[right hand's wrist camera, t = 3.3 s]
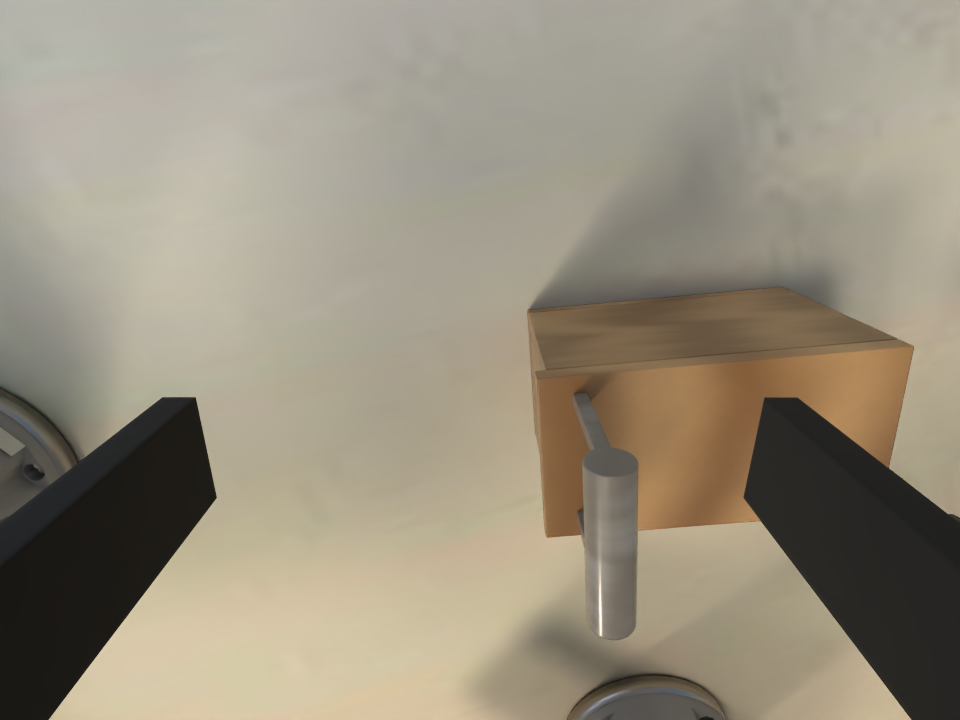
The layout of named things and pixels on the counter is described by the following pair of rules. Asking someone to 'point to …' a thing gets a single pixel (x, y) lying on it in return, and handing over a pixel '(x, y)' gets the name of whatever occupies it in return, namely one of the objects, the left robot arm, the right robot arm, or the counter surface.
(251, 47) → the counter surface
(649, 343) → the chest
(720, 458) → the lid
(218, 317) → the counter surface
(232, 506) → the counter surface
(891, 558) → the right robot arm
